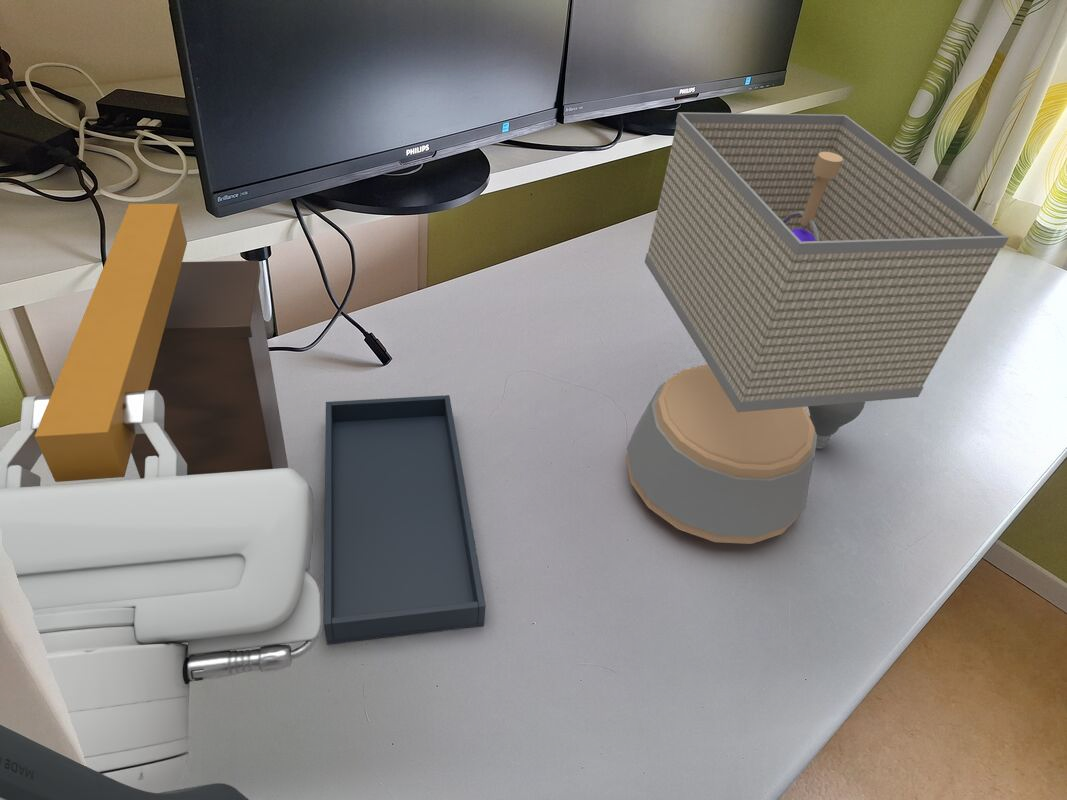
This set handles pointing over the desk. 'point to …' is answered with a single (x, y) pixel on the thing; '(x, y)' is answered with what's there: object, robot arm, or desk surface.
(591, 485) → the desk surface
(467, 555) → the tray
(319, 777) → the desk surface
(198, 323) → the stand
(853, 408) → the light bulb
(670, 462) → the desk lamp
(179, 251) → the bar
